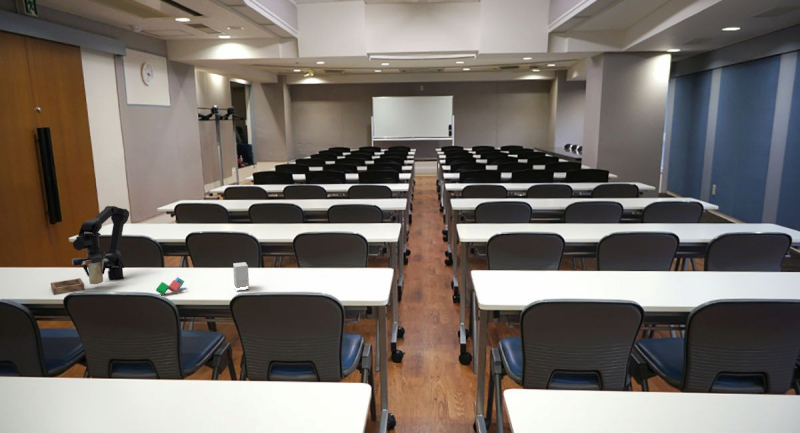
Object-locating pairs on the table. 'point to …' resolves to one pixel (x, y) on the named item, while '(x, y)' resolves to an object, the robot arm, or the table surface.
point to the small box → (240, 275)
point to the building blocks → (170, 286)
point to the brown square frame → (67, 286)
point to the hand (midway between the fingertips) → (95, 275)
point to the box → (95, 272)
